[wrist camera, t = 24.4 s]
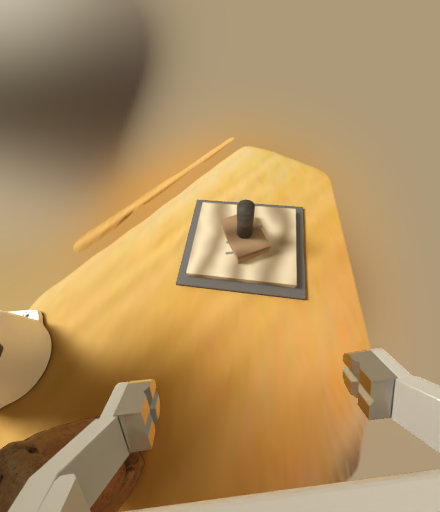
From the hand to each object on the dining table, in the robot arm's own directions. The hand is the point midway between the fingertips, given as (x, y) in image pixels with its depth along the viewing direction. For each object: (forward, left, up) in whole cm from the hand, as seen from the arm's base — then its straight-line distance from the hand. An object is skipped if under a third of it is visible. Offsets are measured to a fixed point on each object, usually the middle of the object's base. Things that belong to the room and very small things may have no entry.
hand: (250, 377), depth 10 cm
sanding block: (-2, +27, -31) cm, 42 cm away
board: (-2, +27, -33) cm, 43 cm away
